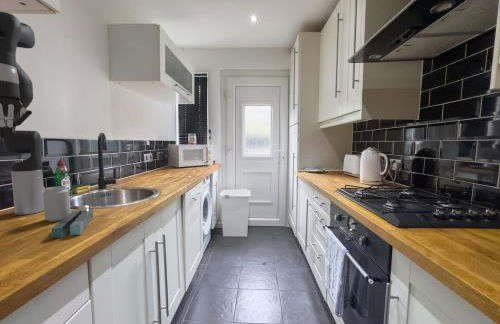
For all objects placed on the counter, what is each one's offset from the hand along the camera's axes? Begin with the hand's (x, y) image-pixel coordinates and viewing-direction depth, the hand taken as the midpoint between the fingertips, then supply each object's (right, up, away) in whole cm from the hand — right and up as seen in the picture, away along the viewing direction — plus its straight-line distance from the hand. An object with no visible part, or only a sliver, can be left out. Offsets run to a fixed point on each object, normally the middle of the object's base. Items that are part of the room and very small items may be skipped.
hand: (6, 140), depth 72 cm
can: (+2, -28, +17) cm, 33 cm away
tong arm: (+17, -28, +9) cm, 34 cm away
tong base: (+13, -28, +10) cm, 33 cm away
